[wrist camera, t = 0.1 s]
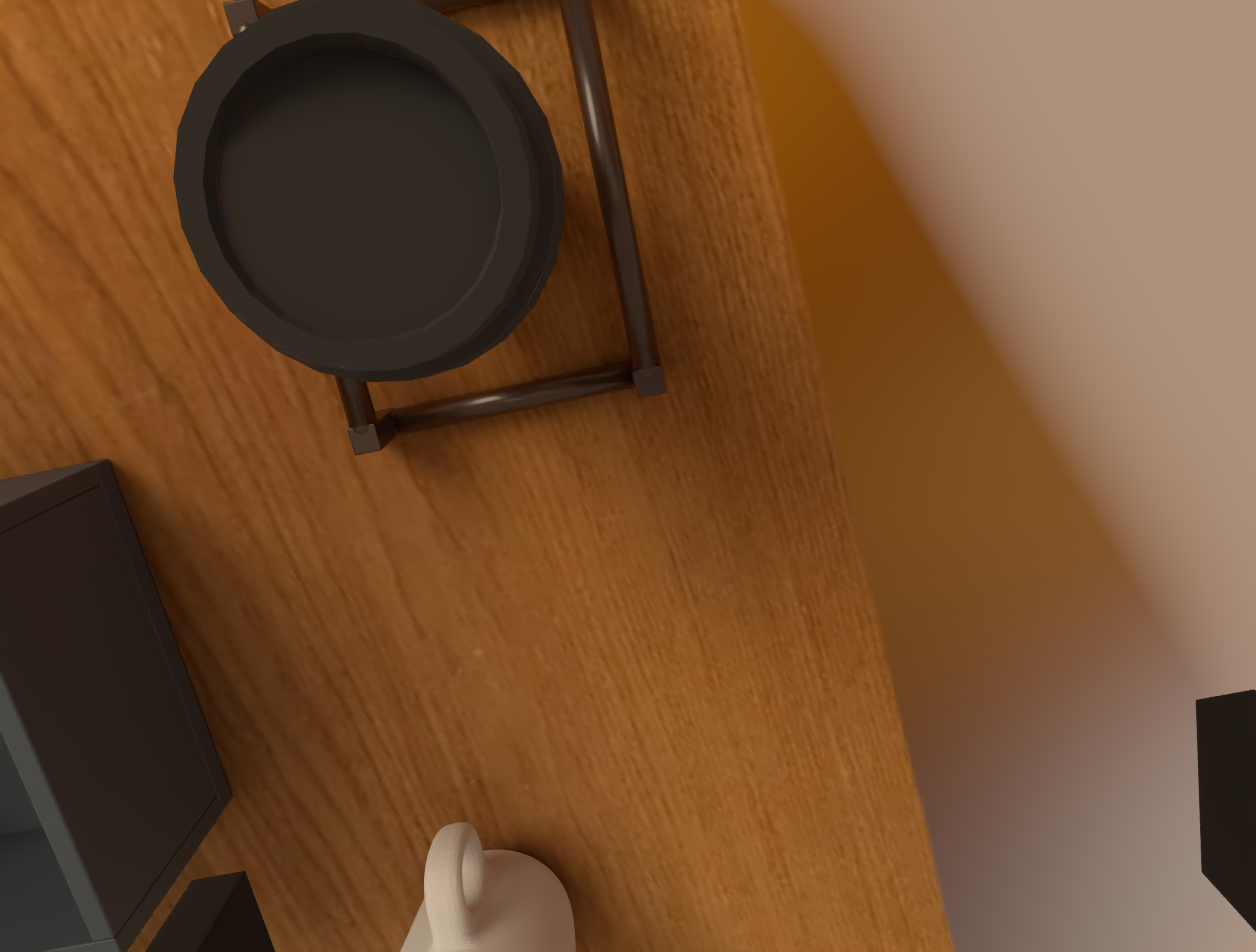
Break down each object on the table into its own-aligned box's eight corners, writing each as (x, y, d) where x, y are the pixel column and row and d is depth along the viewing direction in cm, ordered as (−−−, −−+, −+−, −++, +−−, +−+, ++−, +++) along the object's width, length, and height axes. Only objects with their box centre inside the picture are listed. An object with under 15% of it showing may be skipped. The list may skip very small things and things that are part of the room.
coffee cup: (393, 50, 31) (198, -104, 17) (617, 139, 32) (616, 64, 18) (330, 279, 33) (108, 317, 19) (542, 357, 34) (485, 450, 20)
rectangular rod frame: (258, 23, 31) (220, 1, 28) (579, -49, 30) (575, -79, 27) (376, 437, 35) (354, 456, 32) (662, 379, 34) (667, 393, 31)
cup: (376, 786, 39) (316, 923, 31) (554, 754, 39) (538, 884, 31) (438, 983, 42) (397, 1153, 34) (604, 954, 41) (601, 1120, 34)
